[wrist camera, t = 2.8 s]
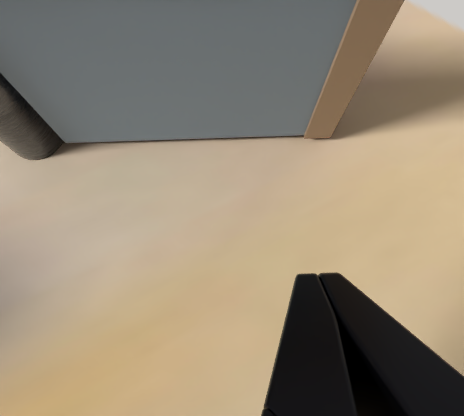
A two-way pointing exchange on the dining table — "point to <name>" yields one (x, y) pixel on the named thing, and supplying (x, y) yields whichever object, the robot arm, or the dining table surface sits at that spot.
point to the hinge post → (24, 126)
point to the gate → (190, 65)
